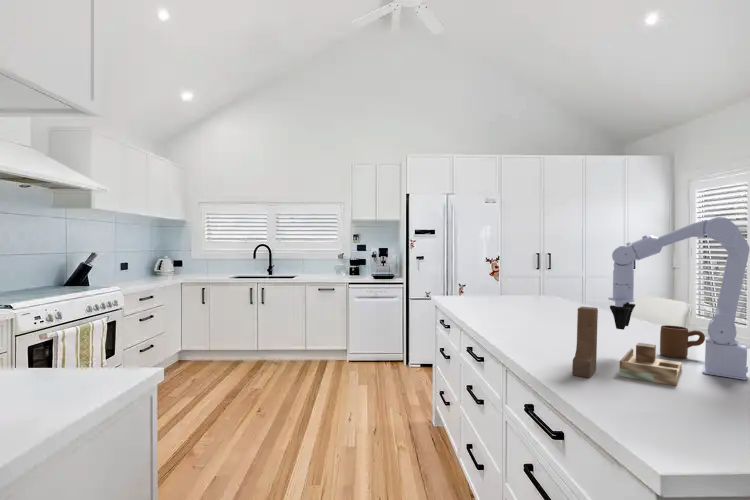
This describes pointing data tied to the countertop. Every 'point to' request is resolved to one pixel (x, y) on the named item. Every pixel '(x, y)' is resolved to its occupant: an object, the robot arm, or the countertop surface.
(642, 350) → the walnut block
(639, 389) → the countertop surface
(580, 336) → the wooden block
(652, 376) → the platform
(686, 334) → the mug
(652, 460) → the countertop surface
